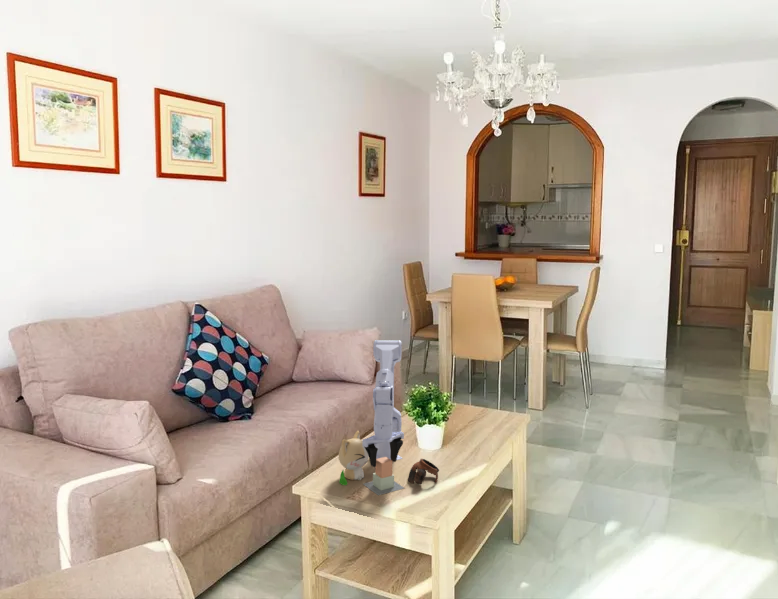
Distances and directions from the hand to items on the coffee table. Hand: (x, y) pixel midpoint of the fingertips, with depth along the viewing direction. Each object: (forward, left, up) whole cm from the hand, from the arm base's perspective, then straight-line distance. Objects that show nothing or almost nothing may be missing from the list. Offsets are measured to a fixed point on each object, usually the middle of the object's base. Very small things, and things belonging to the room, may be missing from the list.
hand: (383, 463), depth 210 cm
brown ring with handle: (+3, +13, -9) cm, 16 cm away
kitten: (-11, -5, -8) cm, 15 cm away
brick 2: (0, 0, -8) cm, 8 cm away
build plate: (0, 0, -8) cm, 8 cm away
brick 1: (0, 0, -4) cm, 4 cm away
